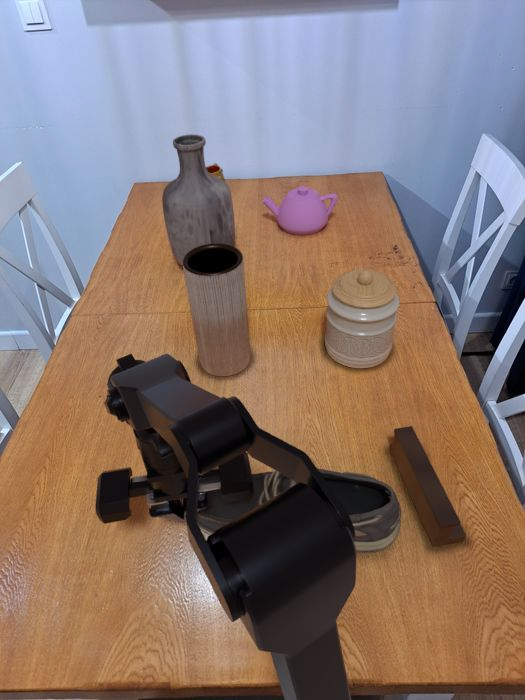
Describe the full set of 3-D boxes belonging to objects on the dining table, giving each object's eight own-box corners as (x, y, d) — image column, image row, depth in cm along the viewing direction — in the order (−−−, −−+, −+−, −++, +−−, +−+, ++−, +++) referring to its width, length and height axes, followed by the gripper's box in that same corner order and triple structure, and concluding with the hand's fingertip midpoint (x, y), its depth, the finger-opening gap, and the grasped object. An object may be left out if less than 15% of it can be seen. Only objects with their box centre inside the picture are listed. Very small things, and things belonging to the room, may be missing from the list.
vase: (247, 272, 118) (237, 145, 98) (182, 288, 114) (159, 159, 94) (226, 242, 130) (214, 122, 109) (167, 255, 126) (143, 134, 106)
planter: (192, 353, 97) (173, 252, 82) (237, 336, 100) (227, 237, 85) (212, 384, 90) (195, 281, 75) (259, 365, 94) (253, 263, 78)
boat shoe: (197, 480, 75) (187, 437, 68) (391, 485, 73) (401, 441, 66) (185, 549, 67) (172, 508, 60) (402, 557, 65) (416, 515, 58)
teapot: (264, 214, 141) (263, 177, 134) (334, 213, 139) (336, 176, 132) (261, 237, 130) (260, 200, 123) (337, 237, 129) (339, 198, 122)
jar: (333, 321, 103) (338, 247, 91) (395, 333, 99) (409, 257, 87) (316, 362, 94) (319, 285, 82) (385, 376, 90) (398, 298, 78)
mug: (223, 194, 152) (221, 173, 147) (202, 194, 153) (199, 173, 148) (230, 178, 161) (228, 158, 156) (209, 178, 161) (207, 158, 157)
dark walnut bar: (463, 541, 66) (474, 519, 62) (431, 547, 66) (440, 526, 62) (416, 447, 78) (423, 423, 74) (389, 451, 78) (394, 428, 74)
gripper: (238, 386, 62) (244, 458, 73) (88, 408, 60) (117, 479, 71) (251, 457, 54) (257, 527, 65) (79, 485, 52) (113, 553, 63)
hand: (185, 518), depth 66 cm, fingers closed
